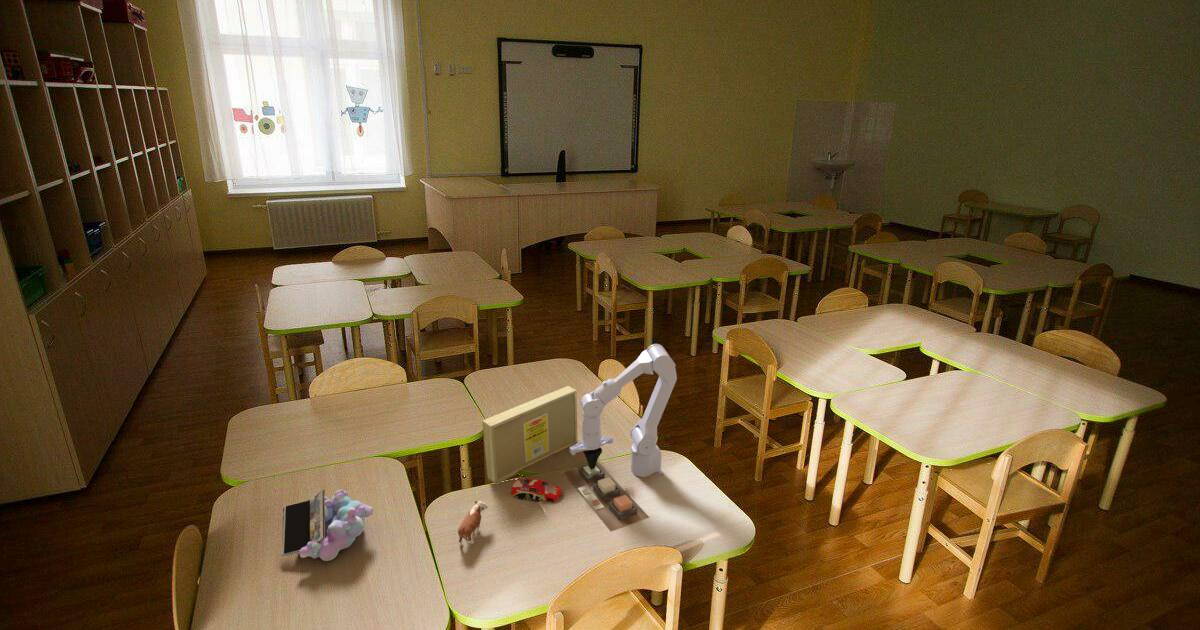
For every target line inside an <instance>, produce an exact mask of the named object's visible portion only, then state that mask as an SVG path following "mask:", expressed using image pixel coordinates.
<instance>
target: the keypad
mask: <svg viewBox="0 0 1200 630" xmlns="http://www.w3.org/2000/svg"><path fill="white" fill-rule="evenodd" d="M586 466H588V464H586V465H585V464H584V465H583V466H582V465H581V466H578V467H576V468H572V469H569V470H567V471H566V470H565V471H562V474H563V475H564V476H565V477H566V479H567V480H568V481H569V482H570V484H571V485H572V486H573V487H574V489H575V490H576V491H577V492H578V494H580V496H581V498H583V500H584V501H585V502H586V503H587V504H588V506H589V507H590V508H591V509H592V511H593V512H594V513H595V514H596V515H597V517H598V518H599V520H601V522H602V523H603V524H604V526H605V527H606V528H607V529H608V530H609V531H610V532H613V531H616V530H618V529H621V528H624V527H627V526H630V525H632V524H635V523H638V522H641V521H642V520H643V521H644V520H646V519H648V518H650V516H649V515H648V514H647V512H645V510H643V509H642V507H640V505H639V504H638V503H637V502H636V501H635V500H634V499H633V498H632V497H631V495H629V494H628V493H627V491H626V490H625V489H624V488H623V487H622V486H621V485H620V484H619V483H618V481H617V480H615V479H614V477H613V476H612V475H611V474H610V473H609V472H608V471H607V470H606V469H605V468H604V467H603V465H602V464H601V463H600V462H599V461H597V463H596V467H597V468H598V469H599V470H600V473H598V474H595V475H592V476H589V477H588V476H587V475H586V474H585V472H584V471H583V467H586ZM608 477H609V478H610V479H611V480H612V481H613V482H614V483H615V490H614V491H611V492H608V493H605V494H603V493H602V492H601V490H600V489H599V488H598V481H599V480H602V479H605V478H608ZM623 495H626V496H627V497H628V498H629V499H630V500H631V501H632V509H630V510H627V511H624V512H621V513H620V512H619V511H618V510H617V509H616V508H615V506H614V499H615V498H618V497H621V496H623Z"/></svg>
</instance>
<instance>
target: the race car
mask: <svg viewBox="0 0 1200 630" xmlns="http://www.w3.org/2000/svg"><path fill="white" fill-rule="evenodd" d="M517 479H518V480H517ZM517 479H516V480H515V481H514V482H513V484H512V485H511V486H512V487H511V489H510V493H511V495H512V497H514V498H517V499H518V500H521V501H522V500H527V501H533V502H540V501H547V502H553V503H555V502H557V501H560V500H561V499H562V498H563V496H564V492H563V490H562V487H560V486H559V485H556V484H552V483H549V482H548V481H547V480H542V479H538V478H537V479H536V478H530V477H529V478H528V477H527V478H517Z"/></svg>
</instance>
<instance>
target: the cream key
mask: <svg viewBox="0 0 1200 630" xmlns="http://www.w3.org/2000/svg"><path fill="white" fill-rule="evenodd" d="M598 488H599V489H600V490H601V492H602V493H603V494H605V493H608V492H611V491H614V490H615V483H614V482H613V481H612V480H611V479H610V478H609V477H608V478H605V479H602V480H599V481H598Z"/></svg>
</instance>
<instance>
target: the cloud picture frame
mask: <svg viewBox="0 0 1200 630" xmlns="http://www.w3.org/2000/svg"><path fill="white" fill-rule="evenodd" d="M325 490H326V489H325V487H324V488H322V489H321V490H320V491H317V493H316V494H314V495H313V496H312V497H311V498H310V499H308V500H304V501H300V502H296V503H291V504H287V505H283V506H282V507H281V544H280V545H281V550H280V551H281V552H280V553H281V554H280V555H281V556H280V557H281V558H285V557H289V556H293V555H297V554H299V556H300V558H303V559H304V558H308V557H311V558H312V559H317V558H320V559H321V560H322V561H324V562H328V561H331V560H332V561H333V559H335V558H336V557H337V556H338V554H339V552H340V551H342V550H344V549H347V548H350V547H351V545H352V544H353V543H354V541H355V540H356V538H357V537H359V536H360V535H361V534H362V533H363V531H364V530H365V525H366V523H365V521H366V520H365V519H366V518H369V517H370V516H372V515H373V513H374V508H373V507H372V505H367V504H365V503H362V502H360V501H359V500H352V499H351V497H349V496H348V495H349V494H348V492H347V491H345V490H343V489H337V490H336V491H335V492H334V493H335V494H334V495H333V496H332V497H331V499H329V497H327V496H325V495H326V494H325V493H326V491H325Z"/></svg>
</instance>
